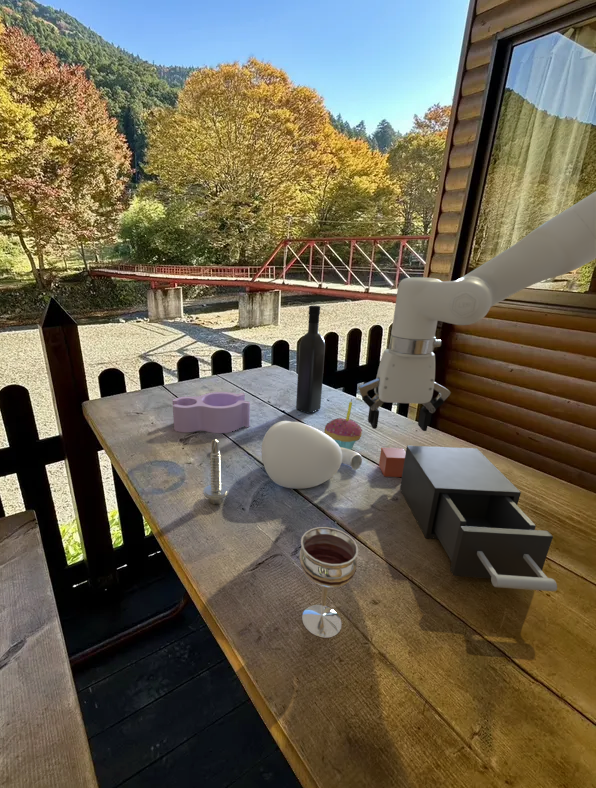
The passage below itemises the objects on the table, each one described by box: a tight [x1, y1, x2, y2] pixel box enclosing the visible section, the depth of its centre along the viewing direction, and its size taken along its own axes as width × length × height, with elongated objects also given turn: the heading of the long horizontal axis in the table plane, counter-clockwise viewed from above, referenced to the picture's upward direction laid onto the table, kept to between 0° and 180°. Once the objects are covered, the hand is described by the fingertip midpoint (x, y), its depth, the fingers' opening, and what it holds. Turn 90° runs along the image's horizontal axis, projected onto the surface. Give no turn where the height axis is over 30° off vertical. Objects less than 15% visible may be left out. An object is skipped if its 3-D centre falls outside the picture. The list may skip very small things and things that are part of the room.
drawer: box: [432, 493, 558, 592], centre depth 60 cm, size 19×11×8 cm, turn 174°
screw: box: [202, 438, 230, 505], centre depth 76 cm, size 13×5×5 cm
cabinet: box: [399, 445, 522, 540], centre depth 72 cm, size 15×13×10 cm
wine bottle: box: [295, 305, 326, 413], centre depth 115 cm, size 6×6×30 cm
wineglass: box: [298, 526, 359, 639], centre depth 51 cm, size 7×7×12 cm
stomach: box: [260, 420, 363, 490], centre depth 90 cm, size 23×13×24 cm
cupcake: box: [323, 398, 363, 450], centre depth 95 cm, size 9×8×12 cm
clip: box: [172, 391, 251, 434], centre depth 110 cm, size 20×12×7 cm, turn 100°
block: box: [378, 447, 406, 478], centre depth 86 cm, size 4×4×4 cm
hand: (397, 427), depth 84 cm, fingers open, 9 cm apart
